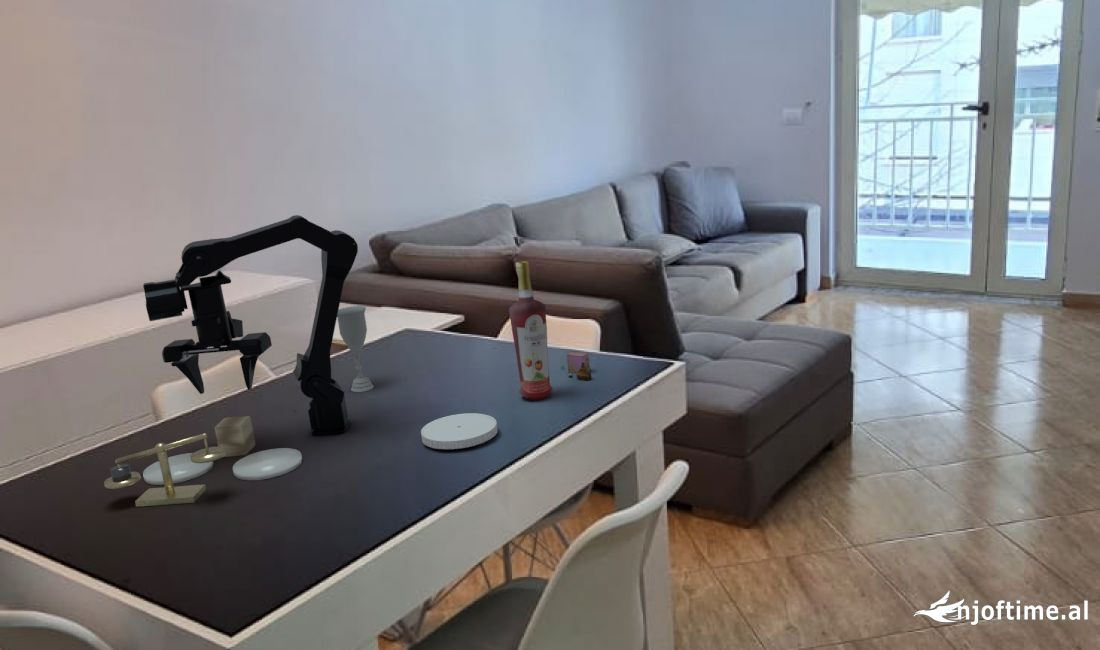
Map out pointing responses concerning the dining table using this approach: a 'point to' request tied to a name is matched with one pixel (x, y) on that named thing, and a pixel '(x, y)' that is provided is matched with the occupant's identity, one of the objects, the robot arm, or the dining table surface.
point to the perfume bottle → (579, 365)
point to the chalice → (355, 340)
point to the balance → (164, 474)
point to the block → (235, 435)
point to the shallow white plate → (267, 464)
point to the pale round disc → (177, 470)
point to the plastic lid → (459, 431)
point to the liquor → (530, 338)
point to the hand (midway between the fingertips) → (226, 391)
